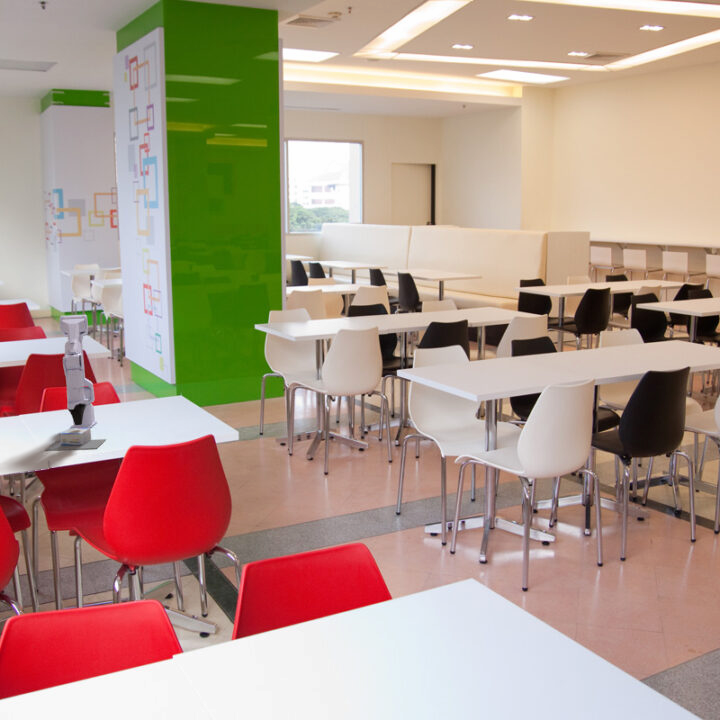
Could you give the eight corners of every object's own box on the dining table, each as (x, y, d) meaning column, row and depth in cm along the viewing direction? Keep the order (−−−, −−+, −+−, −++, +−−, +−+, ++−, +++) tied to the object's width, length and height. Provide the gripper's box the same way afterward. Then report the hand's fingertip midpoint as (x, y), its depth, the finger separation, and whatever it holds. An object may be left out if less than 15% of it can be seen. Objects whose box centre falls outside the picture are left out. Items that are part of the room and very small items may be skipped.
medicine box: (90, 427, 302) (80, 433, 294) (91, 439, 303) (81, 445, 295) (69, 427, 303) (59, 433, 295) (70, 439, 304) (60, 445, 295)
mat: (56, 441, 302) (56, 441, 302) (106, 440, 303) (105, 439, 303) (44, 450, 290) (44, 449, 290) (96, 448, 291) (96, 448, 291)
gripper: (80, 391, 291) (83, 429, 293) (92, 383, 305) (95, 419, 307) (60, 392, 291) (63, 429, 293) (72, 384, 305) (76, 420, 307)
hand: (78, 424), depth 300 cm, fingers closed
